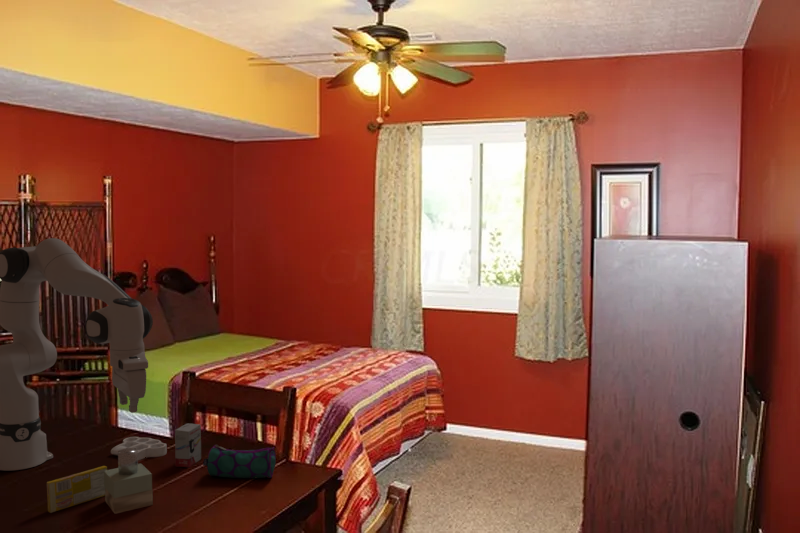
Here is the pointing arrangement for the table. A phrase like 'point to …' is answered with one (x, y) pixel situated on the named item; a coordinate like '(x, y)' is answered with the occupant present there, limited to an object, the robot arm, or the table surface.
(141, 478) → the sage block
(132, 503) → the birch block
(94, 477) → the candy box
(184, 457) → the ink box
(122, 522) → the table surface
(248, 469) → the pencil case
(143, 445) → the knuckle duster
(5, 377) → the robot arm
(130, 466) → the metal cylinder
